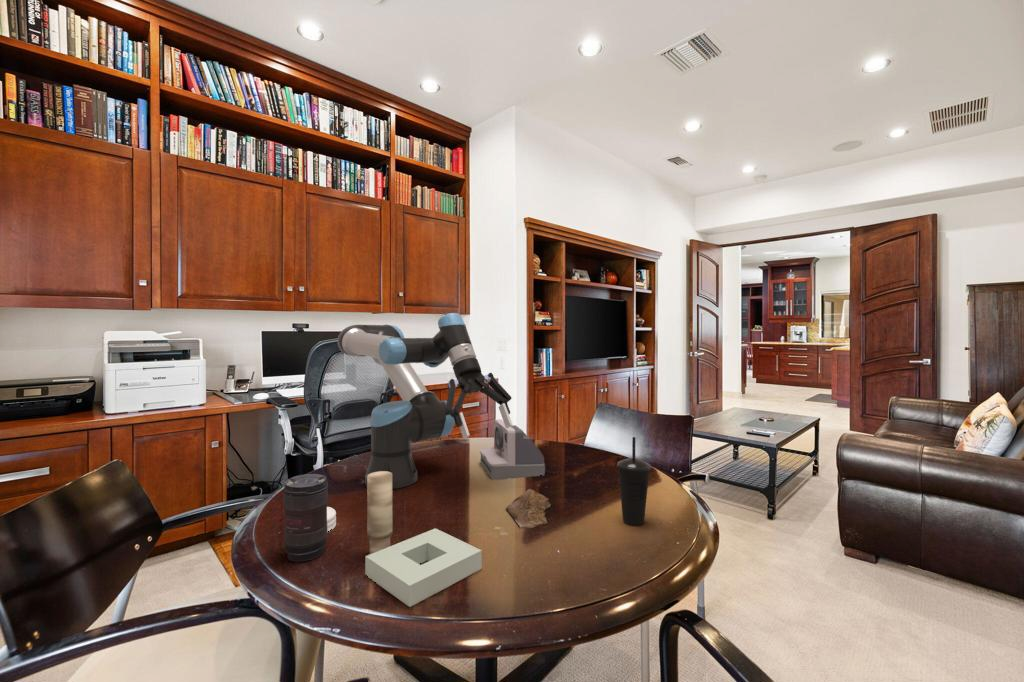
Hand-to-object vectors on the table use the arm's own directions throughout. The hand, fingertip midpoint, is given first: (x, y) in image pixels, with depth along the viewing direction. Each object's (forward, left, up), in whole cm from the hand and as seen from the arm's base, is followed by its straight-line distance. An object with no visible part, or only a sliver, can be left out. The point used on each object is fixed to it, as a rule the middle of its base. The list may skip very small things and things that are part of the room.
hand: (488, 431), depth 121 cm
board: (+19, -35, -18) cm, 44 cm away
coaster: (-15, -41, -18) cm, 47 cm away
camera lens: (-4, -47, -18) cm, 51 cm away
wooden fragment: (+13, +2, -18) cm, 22 cm away
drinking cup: (+37, +12, -18) cm, 43 cm away
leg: (+7, -37, -18) cm, 42 cm away
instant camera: (-12, +23, -18) cm, 32 cm away
